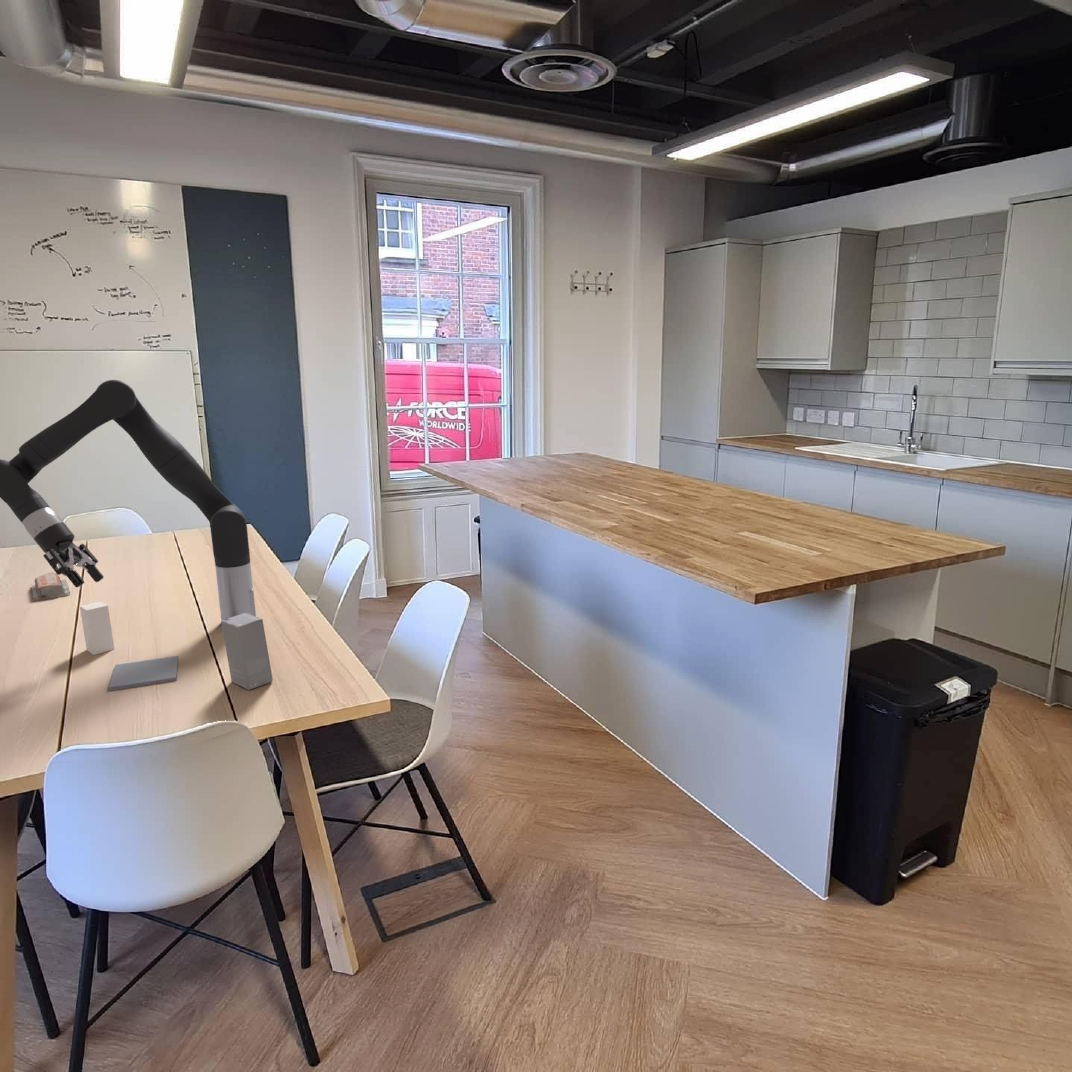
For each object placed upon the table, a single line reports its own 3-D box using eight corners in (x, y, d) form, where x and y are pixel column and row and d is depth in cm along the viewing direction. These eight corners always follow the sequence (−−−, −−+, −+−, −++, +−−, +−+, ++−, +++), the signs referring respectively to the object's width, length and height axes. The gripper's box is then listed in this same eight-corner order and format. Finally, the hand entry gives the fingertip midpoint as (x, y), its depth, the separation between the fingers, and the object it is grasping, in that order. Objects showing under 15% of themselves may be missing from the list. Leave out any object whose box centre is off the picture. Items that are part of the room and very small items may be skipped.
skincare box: (273, 682, 178) (267, 618, 174) (244, 692, 173) (237, 626, 169) (255, 672, 183) (248, 610, 179) (226, 682, 178) (219, 618, 174)
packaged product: (69, 582, 241) (31, 587, 236) (71, 596, 242) (34, 602, 237) (64, 569, 256) (29, 574, 250) (66, 583, 257) (31, 588, 251)
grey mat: (178, 658, 192) (178, 655, 191) (176, 680, 179) (175, 677, 179) (115, 667, 186) (115, 664, 186) (108, 690, 174) (108, 687, 174)
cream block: (107, 644, 202) (100, 601, 199) (114, 649, 198) (107, 605, 195) (86, 649, 198) (79, 606, 195) (93, 654, 195) (86, 610, 192)
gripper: (42, 523, 180) (86, 577, 181) (77, 519, 194) (117, 569, 195) (17, 542, 180) (61, 596, 181) (54, 536, 194) (94, 587, 195)
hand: (90, 582), depth 188 cm, fingers open, 8 cm apart
